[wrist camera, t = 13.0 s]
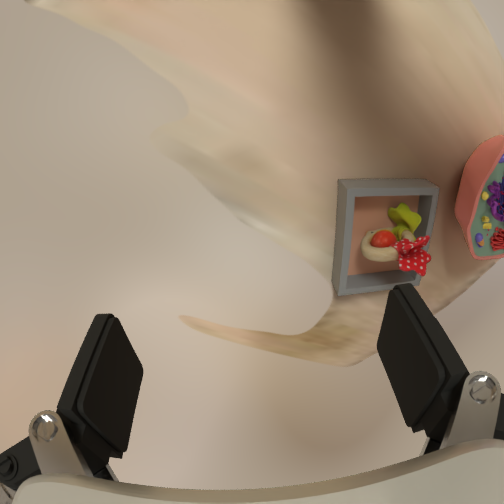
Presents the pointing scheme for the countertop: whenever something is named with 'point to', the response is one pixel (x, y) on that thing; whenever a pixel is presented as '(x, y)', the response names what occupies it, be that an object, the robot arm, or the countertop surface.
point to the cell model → (483, 200)
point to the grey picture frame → (373, 218)
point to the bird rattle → (398, 242)
